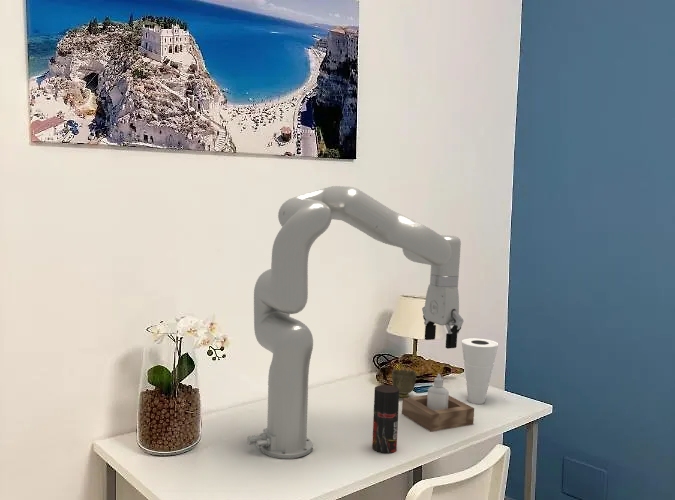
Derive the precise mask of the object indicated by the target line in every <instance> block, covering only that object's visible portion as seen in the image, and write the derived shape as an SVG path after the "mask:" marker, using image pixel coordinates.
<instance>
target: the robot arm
mask: <svg viewBox="0 0 675 500" xmlns="http://www.w3.org/2000/svg"><path fill="white" fill-rule="evenodd" d="M277 214H278V215H277V216H278V217H277V218H278V222H279V224H280V227H281V228H280V230H279V231H278V232H277V234H276V236H275V239H274V241H273V244H272V249H271V266H270V267H271V268H270V269H267V270H265V271H263V272H262V273H261V274H260V275H259V276H258V278H257V280H256V282H255V284H254V288H253V330H254V335H255V339H256V342H258V344H259V345H260V346H261V347H263V348H264V349H265V350H267V351H269V352H270V353H272V359H271V362H270V365H269V369H268V377H267V379H268V381H267V385H268V387H267V416H266V417H267V421H266V422H267V423H266V424H267V425H266V428H263V430H262V432H260V433H259V435H258V434H257V435H248V436H247V437H246V441H247V442H246V443H247V445H249V446H250V445H255V446H256V447H259V449H260V451H261V452H262V453H263V454H265V455H267V456H269V457H272V458H277V459H297V458H301V457H304V456H307V455H308V454H311V452H312V450H313V448H314V445H313V444H314V443H313V441H312V440H311V439H310V438H308V436H307V434H308V407H309V402H308V401H309V374H310V364H311V363H310V362H311V358H312V353H313V349H314V348H313V347H314V339H313V334H312V331H311V330H310V328H309V327H308V326H307V325H306V324H305V323H304V322H302V321H300V320H299V319H297V318H294V317H291V316H290V315H295V314H299V313H300V312H302V311H303V310H304V309H305V307H306V306H307V303H308V298H309V297H308V296H309V295H308V294H309V288H308V287H309V278H308V277H309V275H308V274H309V273H308V271H309V270H308V267H309V255H310V254H309V253H310V250H311V247H312V246H313V244H314V243H315V242H316V240H317V239H318V238H319V237H320V236H322V235H323V234H324V233H325V232H326V231H327V230H328V228H329V227H330V225H331V222H332V220H336V221H341V222H343V223H346V224H348V225H350V226H351V227H353V228H355V229H357V230H359V231H360V232H363V234H366V235H367V236H368V237H370V238H372V239H374V240H375V241H377V242H380V243H382V244H386V245H390V246H393V247H397V248H400V249H402V252H403V255H404V256H405V258H406V259H408V260H409V261H410V262H414V263H417V264H422V265H423V264H424V265H427V266H430V275H429V276H430V277H429V284H428V287H427V290H426V296H425V300H424V301H425V303H424V306H423V307H422V315H423V316H422V317H423V320H424V322H423V323H424V326H425V327H424V340H425V341H434V340H435V339H436V331H437V325H439V326H445V328H446V330H447V333H446V335H445V348H446V349H455V348H457V345H458V344H457V343H458V334H459V333H460V331H461V329H462V326H463V324H464V319H463V318H462V316H461V315H460V298H459V297H460V295H459V275H460V263H461V245H462V243H461V239H460V238H459V236H455V235H443V234H442V235H441V234H439V233H438V232H436V231H435V230H433V229H431V228H430V227H428V226H425V225H424V224H422V223H420V222H418V221H416V220H414V219H412V218H408V217H407V216H405V215H403V214H401V213H399V212H396V211H394V210H392V209H391V208H390V207H387V206H386V205H384V204H383V203H381V202H379V201H378V200H377V199H374V197H371V196H370V195H368V194H367V193H365V192H364V191H362V190H360V189H359V188H356V187H353V186H344V185H343V186H340V185H333V186H328V187H324V188H320V189H317V190H314V191H310V192H307V193H304V194H301V195H298V196H295V197H292V198H288V199H287V200H285V201H284V202H283V203H282V204H281V206H280V208H279V209H278V213H277ZM436 324H437V325H436Z"/></svg>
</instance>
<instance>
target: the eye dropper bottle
mask: <svg viewBox="0 0 675 500" xmlns="http://www.w3.org/2000/svg"><path fill="white" fill-rule="evenodd" d="M426 395H427V407H428V408H430V409H432V410H441V409H447V408H448V395H449V390H448V389H447V388H445V387H444V379H443V377H442V375H441V373H437V376H436V377H434V380H433V386H430V387H428V389H427V394H426ZM449 396H450V395H449Z"/></svg>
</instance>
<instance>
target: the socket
mask: <svg viewBox="0 0 675 500" xmlns="http://www.w3.org/2000/svg"><path fill="white" fill-rule="evenodd" d="M427 395H428V394H426V395H425V394H424V395H417V396H416V395H415V396H409V397H408V398H403V399H401V400H402V402H401V403H402V404H401V415H403V416H404V417H406V418H408V419H410V420H411V421H412V422H414V423H416V424H417V425H419V426H421V427H422V428H424V429H426V430H427V431H429V432H435V431H436V432H437V431H440V430H442V431H443V430H447V429H448V430H449V429H454V428H460V427H465V426H471V425H474V420H475V419H474V417H475V408H474V407H473V406H471V405H469V404H467V403H464V402H462V401H461V400H459V399H457V398H455V397H453V396H451V395H448V408H447V409H441V410H432V409H430V408H428V407H427Z"/></svg>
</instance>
